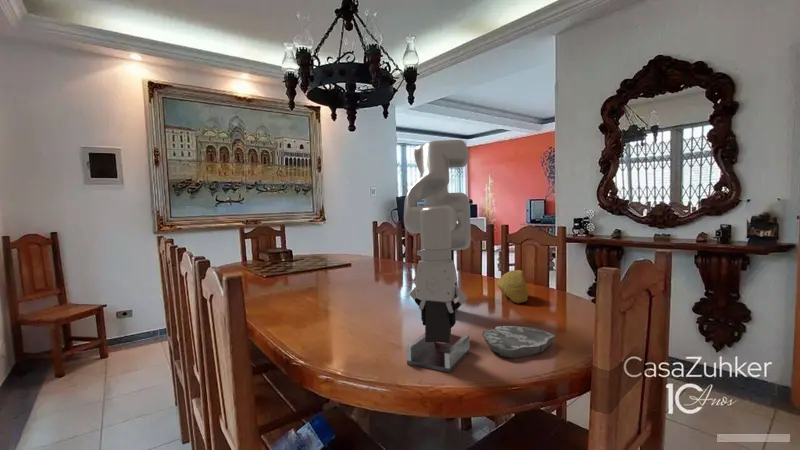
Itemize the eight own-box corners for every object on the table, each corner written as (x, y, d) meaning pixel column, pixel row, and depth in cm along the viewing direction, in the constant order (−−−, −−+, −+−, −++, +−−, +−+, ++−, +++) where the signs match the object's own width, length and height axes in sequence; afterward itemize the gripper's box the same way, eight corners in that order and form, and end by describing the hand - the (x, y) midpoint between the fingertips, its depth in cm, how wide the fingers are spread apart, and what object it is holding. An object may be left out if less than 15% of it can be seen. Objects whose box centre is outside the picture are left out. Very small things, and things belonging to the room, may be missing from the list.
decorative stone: (483, 294, 155) (506, 269, 147) (497, 282, 167) (519, 258, 159) (509, 318, 151) (534, 293, 143) (521, 304, 163) (545, 280, 155)
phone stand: (449, 343, 96) (448, 294, 95) (425, 342, 97) (423, 294, 96) (451, 330, 105) (450, 286, 104) (428, 330, 106) (427, 286, 105)
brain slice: (513, 330, 120) (513, 321, 120) (564, 347, 106) (564, 336, 106) (466, 346, 109) (466, 335, 109) (515, 366, 95) (515, 354, 95)
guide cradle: (407, 364, 98) (406, 346, 98) (430, 345, 110) (430, 329, 110) (449, 372, 92) (449, 354, 92) (469, 351, 105) (469, 334, 104)
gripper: (399, 256, 100) (401, 325, 102) (463, 259, 92) (465, 334, 93) (412, 252, 107) (415, 317, 108) (474, 254, 99) (475, 325, 100)
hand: (438, 324), depth 101 cm, fingers closed on phone stand, 6 cm apart
